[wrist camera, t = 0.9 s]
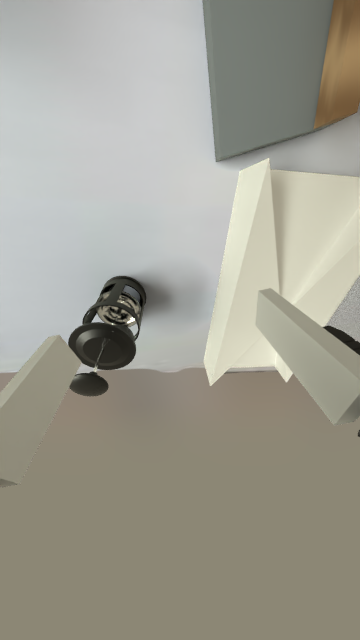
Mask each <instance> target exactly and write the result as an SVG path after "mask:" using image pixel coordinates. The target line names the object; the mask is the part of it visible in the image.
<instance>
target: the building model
mask: <svg viewBox="0 0 360 640" xmlns="http://www.w3.org/2000/svg"><path fill="white" fill-rule="evenodd" d="M359 275H360V177H352V176H340V175H329V174H318V173H306V172H295V171H283V170H272V169H270V161H269V158H268V159H266V160H263V161H261V162H259V163H257V164H254V165H252V166H250V167H248V168H245V169H243V170H241V171H240V173H239V178H238V183H237V188H236V194H235V199H234V204H233V209H232V215H231V220H230V225H229V230H228V236H227V241H226V246H225V251H224V257H223V262H222V267H221V273H220V278H219V283H218V288H217V294H216V299H215V304H214V309H213V315H212V320H211V325H210V330H209V336H208V341H207V346H206V351H205V357H204V364H205V368H206V372H207V375H208V379H209V382H210V386H211V385H212V384H213V383H215V382H216V380H218V379H219V378H220V377H221V376H222V375H223V374H224V373H225V372H226V371H227V370H228V369H229V368H239V367H264V366H275V367H276V369H277V370H278V371H279V373H280V374H281V376H282V377H283V378H284V380H285V381H286V382H287V381H288V380H289V378H290V377H291V375H292V374H293V372H292V371H291V370H290V368H289V367H288V366H287V365H286V363H285V362H284V361H283V360H282V358H281V357H280V356H279V354H278V353H277V352H276V351H275V349H274V348H273V347H272V346H271V344H270V343H269V342H268V340H267V339H266V338H265V337H264V335H263V334H262V333H261V331H260V330H259V329H258V328H257V326H256V325H255V324H256V312H257V300H258V291H259V290H264V289H268V288H271V289H273V290H274V291H275V292H277V293H278V294H279V295H280V296H282V297H283V298H284V299H286V300H287V301H288V302H290V303H291V304H292V305H294V306H295V307H296V308H298V309H299V310H300V311H302V312H303V313H304V314H306V315H307V316H308V317H310V318H311V319H312V320H313V321H315V322H316V323H317V324H319V325H320V326H321V327H325V325H326V324H327V322H328V321H329V319H330V318H331V316H332V315H333V313H334V312H335V310H336V309H337V308H338V306H339V305H340V303H341V302H342V300H343V299H344V297H345V296H346V294H347V293H348V291H349V290H350V288H351V287H352V285H353V284H354V282H355V281H356V280H357V278H358V277H359Z"/></svg>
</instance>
